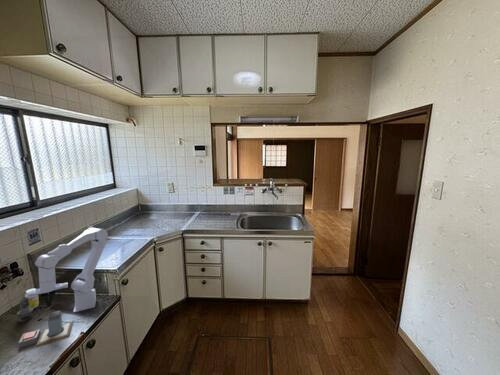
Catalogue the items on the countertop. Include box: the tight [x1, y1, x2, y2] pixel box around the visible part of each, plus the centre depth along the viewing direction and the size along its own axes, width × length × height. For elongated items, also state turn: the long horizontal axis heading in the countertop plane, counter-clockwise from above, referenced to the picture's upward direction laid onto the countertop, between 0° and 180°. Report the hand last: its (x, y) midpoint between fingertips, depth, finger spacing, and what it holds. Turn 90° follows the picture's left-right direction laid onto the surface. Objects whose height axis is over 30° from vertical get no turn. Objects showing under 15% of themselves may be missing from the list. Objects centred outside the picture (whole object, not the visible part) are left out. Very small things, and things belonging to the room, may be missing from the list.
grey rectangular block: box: [47, 310, 63, 336], centre depth 101 cm, size 4×4×9 cm
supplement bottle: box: [24, 287, 40, 309], centre depth 119 cm, size 5×5×10 cm
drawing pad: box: [36, 321, 74, 347], centre depth 101 cm, size 11×10×1 cm
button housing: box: [18, 328, 41, 349], centre depth 97 cm, size 6×6×3 cm
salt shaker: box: [16, 295, 34, 322], centre depth 110 cm, size 6×6×12 cm
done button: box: [23, 330, 37, 340], centre depth 97 cm, size 4×4×2 cm
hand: (49, 305), depth 105 cm, fingers closed
